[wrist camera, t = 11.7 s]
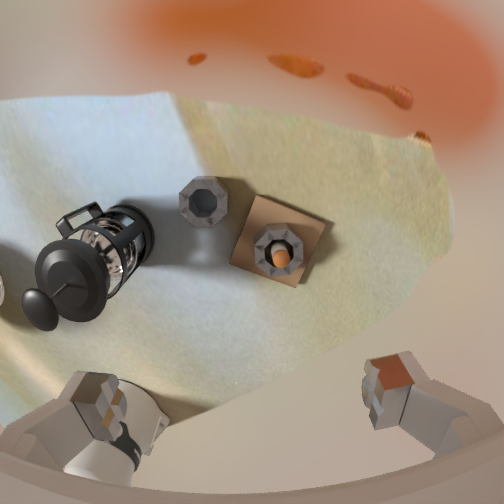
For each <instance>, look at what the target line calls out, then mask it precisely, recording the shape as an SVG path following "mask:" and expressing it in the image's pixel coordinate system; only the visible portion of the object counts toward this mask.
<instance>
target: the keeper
mask: <svg viewBox="0 0 504 504" xmlns="http://www.w3.org/2000/svg"><path fill="white" fill-rule="evenodd" d="M283 222H285V223H286V224H288V225H289V226H290V227H291V228H292V229H293V230H294V231H296V232H297V233H298V234H299V236H300V237H301V239H302V241H303V262H302V263H301V264H300V265H299V266H298V267H297V268H296V269H295V270H294V271H293V272H292V273H291V274H290V275H283V276H269V275H268V274H267V273H266V272H264V271H263V270H262V269H261V268H259V267H258V266H257V265H256V263H255V250H254V237H255V236H256V235H257V233H258V232H259V231H260V230H261V229H262V228H263V227H264V226H265V224H269V223H283ZM325 226H326V224H325V223H324V222H323V221H321V220H318V219H316V218H314V217H311V216H309V215H307V214H304V213H302V212H299V211H297V210H295V209H292V208H290V207H287V206H285V205H282V204H280V203H277V202H275V201H272V200H270V199H267V198H265V197H262V196H260V195H257V194H256V196H255V199H254V201H253V204H252V206H251V209H250V211H249V214H248V216H247V218H246V221H245V223H244V226H243V228H242V231H241V233H240V236H239V238H238V241H237V243H236V246H235V248H234V251H233V253H232V256H231V258H230V262H229V264H231V265H234V266H236V267H239V268H242V269H245V270H247V271H250V272H253V273H255V274H258V275H261V276H264V277H266V278H269V279H272V280H275V281H277V282H280V283H283V284H286V285H288V286H291V287H294V288H296V286H297V284H298V282H299V280H300V278H301V276H302V274H303V272H304V270H305V268H306V266H307V264H308V262H309V260H310V258H311V255H312V253H313V251H314V249H315V247H316V245H317V243H318V241H319V238H320V236H321V234H322V232H323V230H324V228H325ZM289 250H290V243H289V242H287V241H286V240H285V239H278V240H272V241H271V242H270V243H269V244H268V245H267V246H266V247H265V249H264V252H266V253H267V254H268V255H269V256H270V257H272V258H273V263H274V265H275V266H277V267H279V268H284V267H286V266H287V265H288V264H289V262H290V256H289V254H288V251H289Z"/></svg>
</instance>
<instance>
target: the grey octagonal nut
mask: <svg viewBox="0 0 504 504" xmlns="http://www.w3.org/2000/svg"><path fill="white" fill-rule="evenodd" d="M278 239H285V240H286V241H287V242H289V243H290V250H289V251H288V254H289V256H290V262H289V264H288V265H287V266H286V267H284V268H279V267H277V266H275V265H274V263H273V258H272V257H270V256H269V255H268V254H267V253H266V252H264V249H265V247H266V246H267V245H268V244H269V243H270V242H271V241H272V240H278ZM254 250H255V263H256V265H257V266H258V267H259V268H261V269H262V270H263V271H264V272H266V273H267V274H268V275H269V276H283V275H290V274H291V273H292V272H293V271H294V270H295V269H296V268H297V267H298V266H299V265H300V264H301V263H302V262H303V241H302V239H301V237H300V236H299V234H298V233H297V232H296V231H294V230H293V229H292V228H291V227H290V226H289V225H288V224H286V223H285V222H283V223H269V224H265V226H264V227H263V228H262V229H261V230H260V231H259V232H258V233H257V235H256V236H255V237H254Z"/></svg>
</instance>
